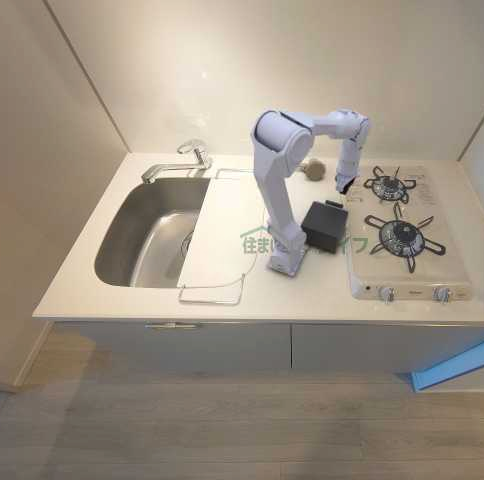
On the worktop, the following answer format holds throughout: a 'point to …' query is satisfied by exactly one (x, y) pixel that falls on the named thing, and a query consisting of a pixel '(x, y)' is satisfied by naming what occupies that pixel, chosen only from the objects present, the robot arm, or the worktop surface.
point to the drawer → (333, 204)
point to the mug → (314, 169)
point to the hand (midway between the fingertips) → (343, 192)
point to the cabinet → (324, 226)
